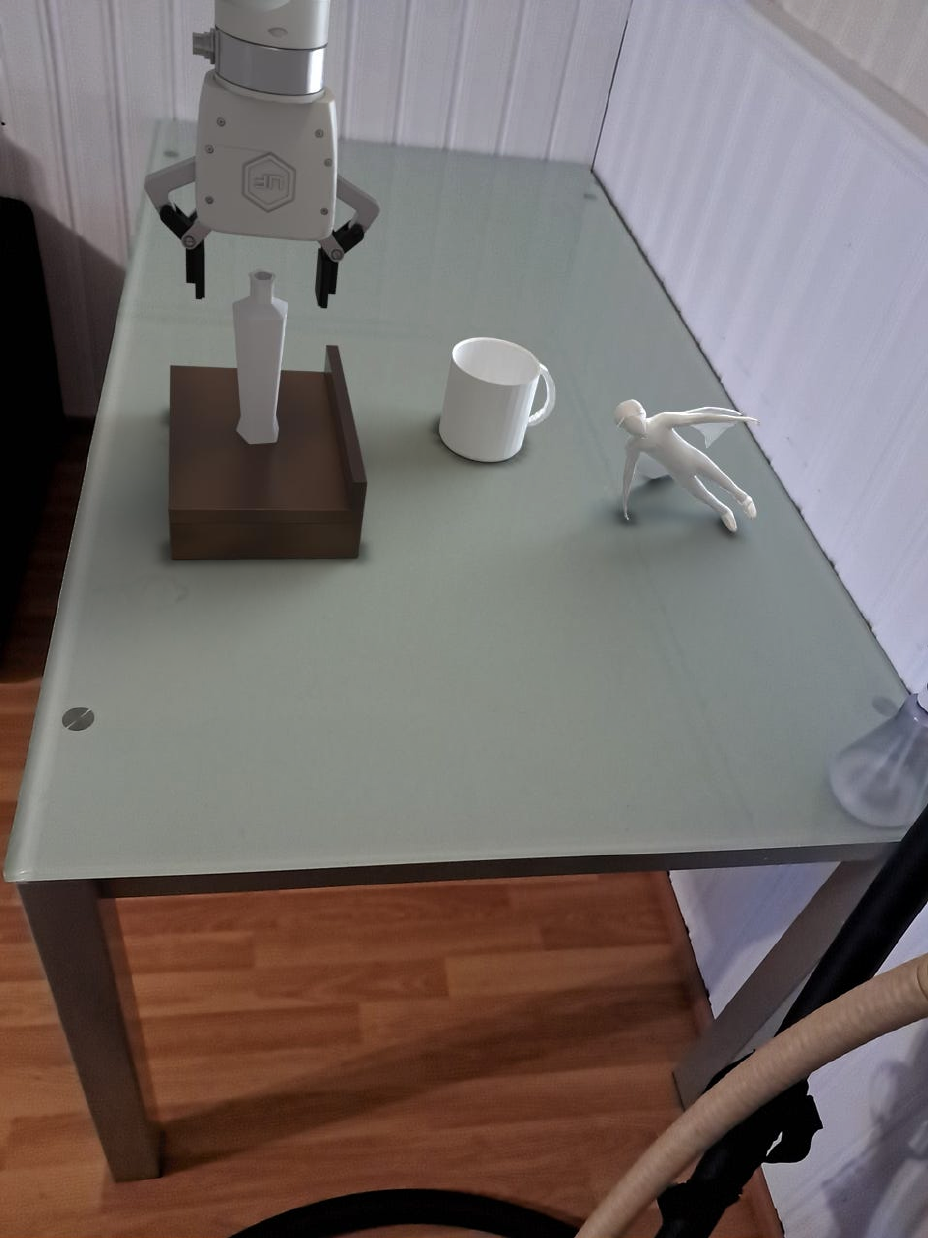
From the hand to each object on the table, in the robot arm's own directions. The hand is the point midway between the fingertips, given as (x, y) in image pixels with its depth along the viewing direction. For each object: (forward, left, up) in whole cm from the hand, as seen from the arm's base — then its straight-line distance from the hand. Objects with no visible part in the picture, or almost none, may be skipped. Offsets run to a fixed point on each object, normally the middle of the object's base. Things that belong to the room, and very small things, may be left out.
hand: (261, 296), depth 78 cm
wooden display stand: (0, 0, -19) cm, 19 cm away
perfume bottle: (0, 0, -14) cm, 14 cm away
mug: (+25, +8, -19) cm, 33 cm away
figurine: (+40, -3, -19) cm, 45 cm away
